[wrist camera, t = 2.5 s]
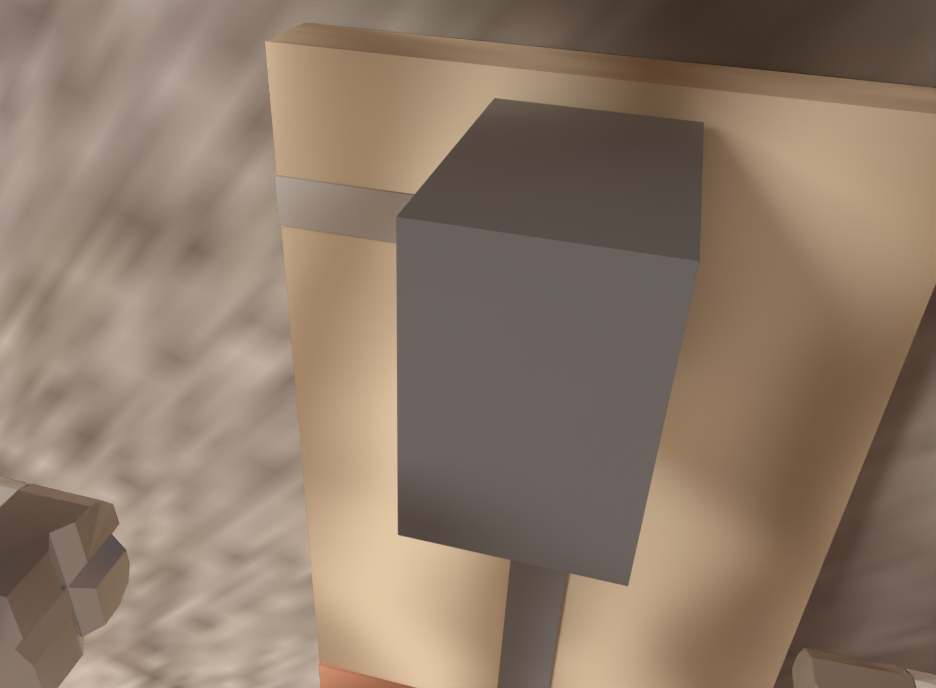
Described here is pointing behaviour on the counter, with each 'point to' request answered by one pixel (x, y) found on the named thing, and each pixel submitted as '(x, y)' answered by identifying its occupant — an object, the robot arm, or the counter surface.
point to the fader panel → (695, 382)
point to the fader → (544, 331)
